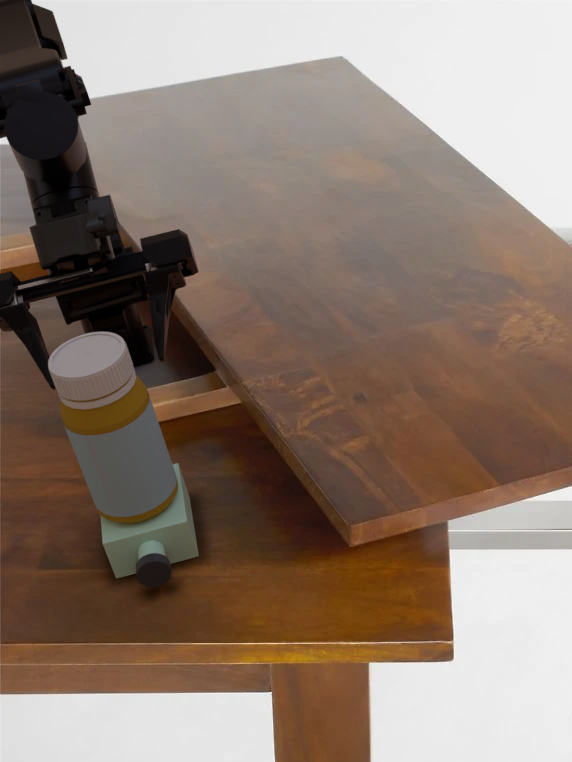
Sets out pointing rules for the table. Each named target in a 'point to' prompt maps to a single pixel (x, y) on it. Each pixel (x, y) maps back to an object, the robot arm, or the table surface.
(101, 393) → the bottle
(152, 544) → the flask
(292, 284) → the table surface
